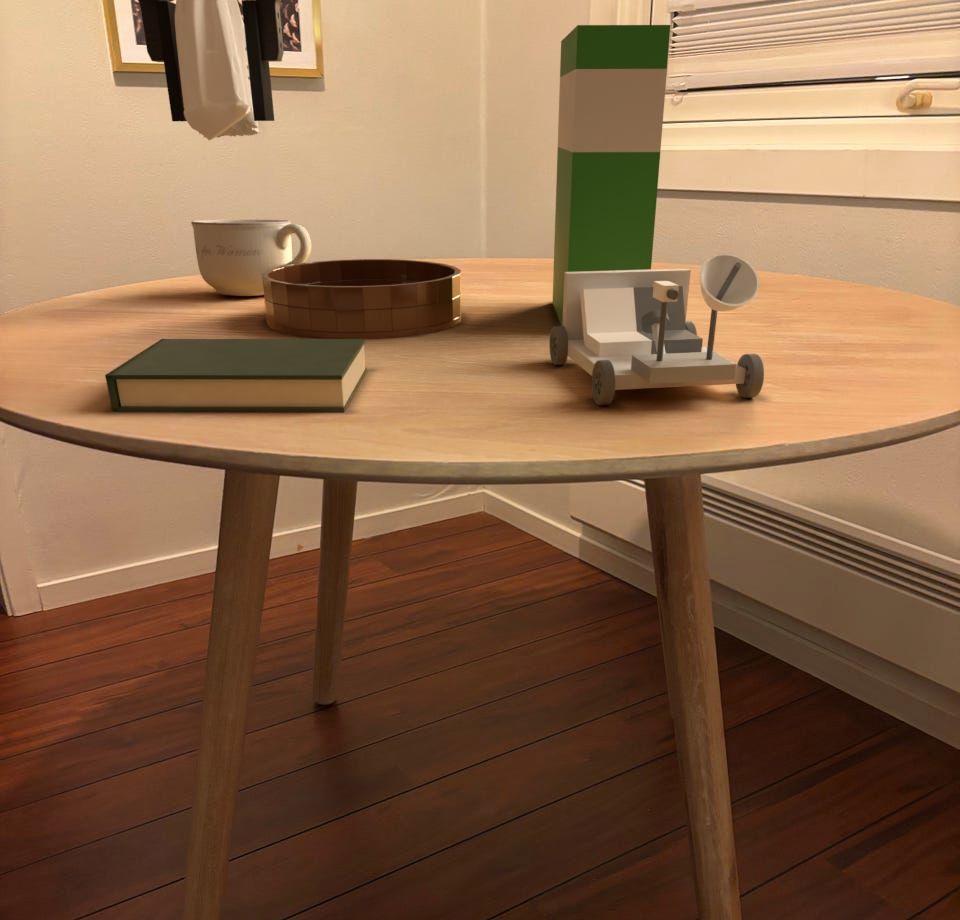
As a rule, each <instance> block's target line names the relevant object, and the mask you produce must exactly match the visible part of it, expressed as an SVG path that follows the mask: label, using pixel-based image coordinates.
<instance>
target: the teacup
mask: <svg viewBox="0 0 960 920" xmlns="http://www.w3.org/2000/svg"><path fill="white" fill-rule="evenodd" d="M190 223H191V224H190V225H191V227H192V230H193V238H194V246H195V254H196V260H197V266H198V270H199V274H200V276H201V278H202V279H203V281H204V282H205V283H206V284H207V285H209V286H210V287H212V288H213V289H214V291H215V292H216V293H217V294H219V295H223V296H235V297H237V296H238V297H253V296H254V297H255V296H256V297H257V296H264V293H263V284H262V273H264V272H266V271H267V270H270V269H273V268H277V267H281V266H287V265H292V264H299V263H306V261H307V260H308V258H309V256H310V254H311V251H312V240H311V236H310V233H309V232H308V230H307V229H306V228H305V227H304V226H303V225H300V224H298V223H292V222H291V220H288V219H286V220H285V219H199V220H191V222H190ZM292 234H295V235H296V236H297V238H298V240H299V245H300V247H299V251H298V253H297V254H296V256H295V257H294V258H293V248H292Z"/></svg>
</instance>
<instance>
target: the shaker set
mask: <svg viewBox="0 0 960 920" xmlns="http://www.w3.org/2000/svg"><path fill="white" fill-rule="evenodd" d="M175 4H176V7H175V30H176V41H177V50H178V59H179V68H180V78H181V86H182V95H183V104H184V109H185V110H184V116H185V119H186V121H185V122H187V124H188V125H189V127H190V128H191V129H192V130H195V132H198V134H199V135H202V136H203V138H205V139H207V140H208V141H212V140H213V139H218V138H222V137H225V136H226V137H228V136H229V137H235V138H236V136H238V137H244V136H247V137H249V136H255V135H257V134H260V128H259V127H260V126H259V121H254V114H253V104H252V95H251V86H250V76H249V67H248V57H247V48H246V38H245V29H244V19H243V16H242V14H241V9H240V6H239V3H238V0H175Z"/></svg>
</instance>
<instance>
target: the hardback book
mask: <svg viewBox="0 0 960 920" xmlns="http://www.w3.org/2000/svg"><path fill="white" fill-rule="evenodd" d="M671 25H672V24H577V25H576V26H575V27H574V28H573V29H572V30H571V31H570V32H569V33H568V34H567V35H566V36H565V37H564V38H563V39H562V40H561V41H560V61H559V63H560V65H559V94H558V95H559V96H558V97H559V98H558V122H557V123H558V124H557V125H558V126H557V127H558V129H557V154H556V155H557V157H556V181H555V182H556V184H555V185H556V186H555V213H554V214H555V215H554V217H555V218H554V244H553V246H554V247H553V275H552V305H553V309H554V311H555V314H556V315H557V318H558V321H559V324H560V326H562V323H563V297H564V272H581V271H616V270H652V263H653V262H652V261H653V251H654V250H653V249H654V237H655V224H656V212H657V198H658V187H659V175H660V174H659V173H660V163H661V151H662V150H661V149H662V138H663V137H662V136H663V124H664V112H665V99H666V89H667V88H666V86H667V75H668V62H669V52H670V51H669V48H670V37H671Z"/></svg>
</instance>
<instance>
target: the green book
mask: <svg viewBox="0 0 960 920" xmlns="http://www.w3.org/2000/svg"><path fill="white" fill-rule="evenodd" d="M365 344H366V339H325V338H161V339H159V340H157V341H156V342H154V343H153V344H151V345H150V346H148V347H146V348H145V349H143V350H141V352H139V353H137V354H135V355H134V356H132V357H131V358H129V359H128V360H126V361H125V362H123V363H122V364H119V366H117V367H115V368H113V369H112V370H111V371H109V372H108V373H106V374H104V377H105V380H106V386H107V392H108V397H109V402H110V407H111V408H110V409H111V412H113V413H116V412H117V413H126V412H127V413H134V412H135V413H139V412H140V413H166V412H167V413H345V412H346V410H347V408H348V406H349V404H350V402H351V401H352V399H353V397H354V396H355V394H356V392H357V390H358V388H359V386H360V385H361V383H362V381H363V379H364V377H365V376H366V374H367V371H368V368H367V367H366V354H365V353H366V352H365Z"/></svg>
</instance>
